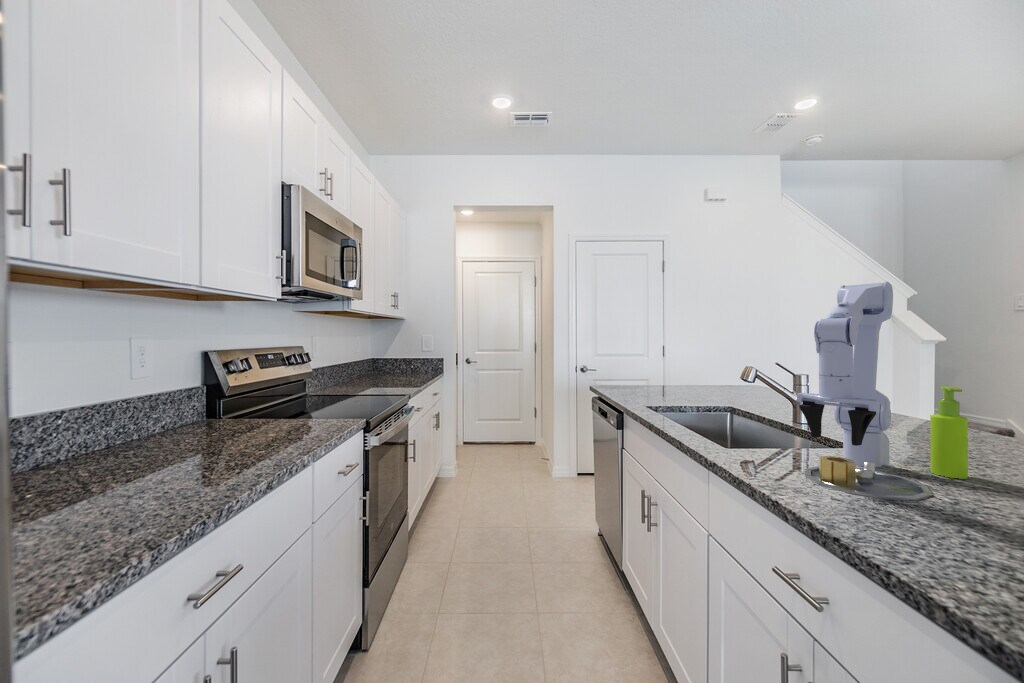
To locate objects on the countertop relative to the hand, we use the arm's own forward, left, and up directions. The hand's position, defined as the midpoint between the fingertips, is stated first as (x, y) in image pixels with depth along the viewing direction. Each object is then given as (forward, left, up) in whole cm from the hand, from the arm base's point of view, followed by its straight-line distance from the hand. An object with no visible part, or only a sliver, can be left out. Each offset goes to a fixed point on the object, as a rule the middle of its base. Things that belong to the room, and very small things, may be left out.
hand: (835, 440), depth 89 cm
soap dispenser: (-30, +7, -10) cm, 33 cm away
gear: (0, 0, -8) cm, 8 cm away
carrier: (-4, +3, -9) cm, 11 cm away
